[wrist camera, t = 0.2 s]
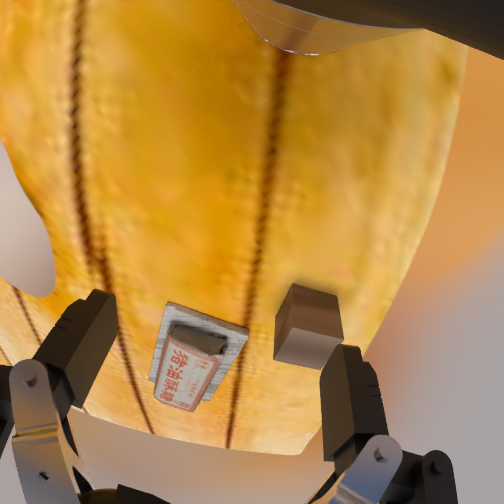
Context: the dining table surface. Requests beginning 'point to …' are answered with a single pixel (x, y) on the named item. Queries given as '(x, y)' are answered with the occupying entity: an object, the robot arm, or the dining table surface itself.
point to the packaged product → (192, 356)
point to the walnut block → (307, 328)
